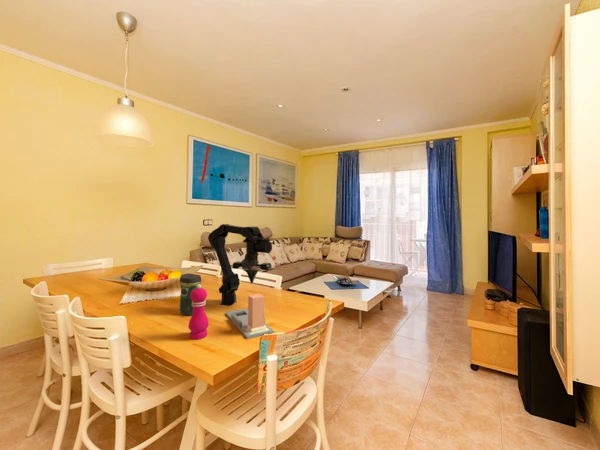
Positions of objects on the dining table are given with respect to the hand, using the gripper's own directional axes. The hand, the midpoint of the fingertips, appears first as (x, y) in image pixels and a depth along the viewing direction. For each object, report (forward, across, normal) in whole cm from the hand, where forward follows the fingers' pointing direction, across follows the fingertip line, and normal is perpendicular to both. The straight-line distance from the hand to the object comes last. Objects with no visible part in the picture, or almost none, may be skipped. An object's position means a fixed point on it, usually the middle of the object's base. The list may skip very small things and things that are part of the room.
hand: (251, 282), depth 135 cm
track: (+13, +5, -17) cm, 22 cm away
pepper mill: (+13, -8, -34) cm, 37 cm away
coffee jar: (+13, -26, -12) cm, 31 cm away
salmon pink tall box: (+12, +12, -25) cm, 30 cm away
